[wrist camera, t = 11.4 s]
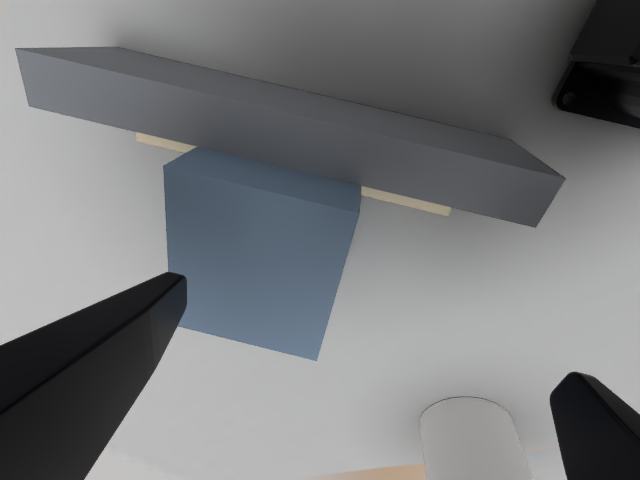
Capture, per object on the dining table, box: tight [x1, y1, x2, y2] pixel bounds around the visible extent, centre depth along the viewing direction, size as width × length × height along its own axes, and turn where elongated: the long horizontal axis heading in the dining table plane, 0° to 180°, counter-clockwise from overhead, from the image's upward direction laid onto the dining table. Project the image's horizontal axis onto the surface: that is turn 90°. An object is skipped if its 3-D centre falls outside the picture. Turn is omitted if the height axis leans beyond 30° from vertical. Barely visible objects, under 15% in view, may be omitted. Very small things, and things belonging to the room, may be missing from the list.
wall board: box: [15, 47, 566, 228], centre depth 15 cm, size 20×4×6 cm, turn 79°
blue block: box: [163, 147, 362, 361], centre depth 16 cm, size 6×8×8 cm
